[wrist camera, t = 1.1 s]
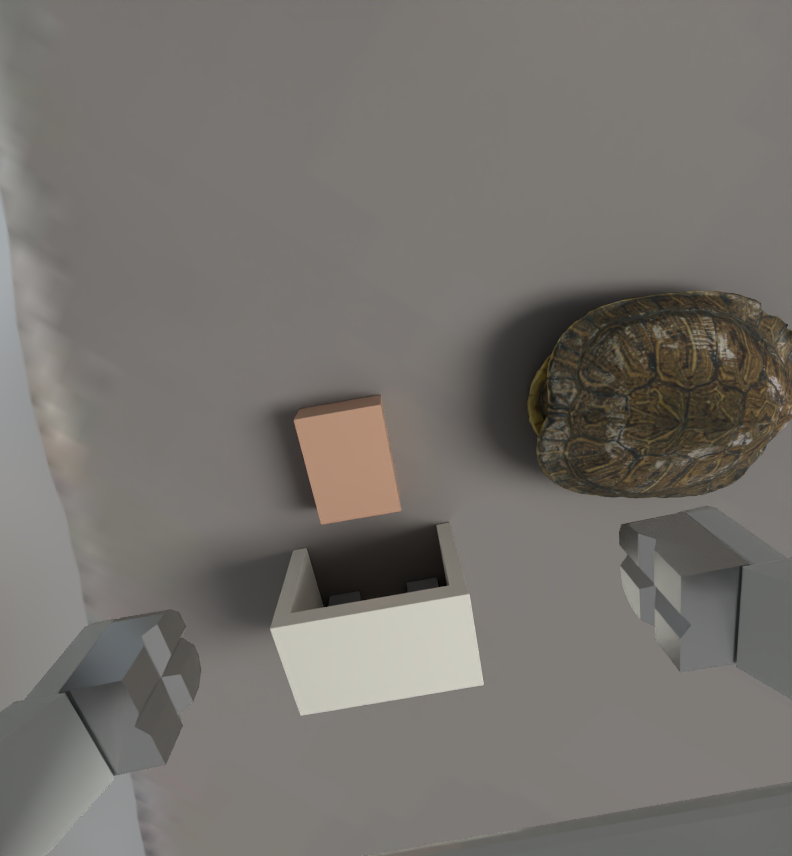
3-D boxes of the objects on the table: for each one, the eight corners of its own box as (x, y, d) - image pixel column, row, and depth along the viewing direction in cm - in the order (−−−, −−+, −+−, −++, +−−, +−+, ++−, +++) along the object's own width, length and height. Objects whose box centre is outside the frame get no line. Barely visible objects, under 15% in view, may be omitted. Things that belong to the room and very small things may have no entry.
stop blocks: (329, 596, 42) (326, 615, 40) (436, 577, 42) (440, 595, 40) (334, 613, 43) (332, 632, 41) (439, 594, 43) (443, 613, 40)
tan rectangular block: (300, 407, 37) (293, 419, 34) (380, 393, 36) (380, 404, 34) (325, 505, 40) (321, 524, 37) (399, 493, 39) (401, 511, 37)
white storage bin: (293, 550, 40) (270, 628, 32) (449, 522, 40) (469, 594, 31) (316, 625, 43) (300, 715, 35) (462, 599, 43) (483, 684, 34)
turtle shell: (796, 522, 35) (561, 549, 30) (699, 470, 43) (502, 485, 39) (887, 301, 29) (613, 294, 25) (754, 289, 37) (530, 282, 33)
